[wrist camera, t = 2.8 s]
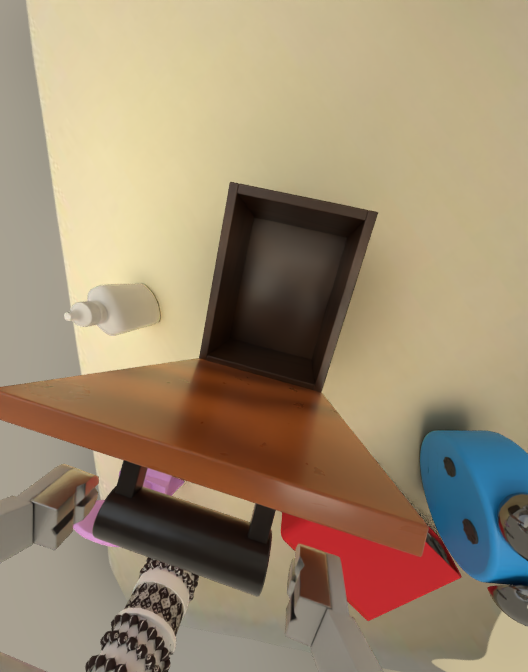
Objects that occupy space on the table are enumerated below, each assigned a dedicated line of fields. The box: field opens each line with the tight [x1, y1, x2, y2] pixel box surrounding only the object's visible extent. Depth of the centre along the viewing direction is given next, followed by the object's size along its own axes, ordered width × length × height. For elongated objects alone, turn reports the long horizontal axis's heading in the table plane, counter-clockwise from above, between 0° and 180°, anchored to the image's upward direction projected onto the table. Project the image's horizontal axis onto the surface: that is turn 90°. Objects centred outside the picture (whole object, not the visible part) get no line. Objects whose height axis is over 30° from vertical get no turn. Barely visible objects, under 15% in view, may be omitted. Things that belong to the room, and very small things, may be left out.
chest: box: [199, 182, 378, 392], centre depth 27 cm, size 17×13×9 cm
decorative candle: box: [85, 557, 199, 672], centre depth 30 cm, size 9×9×25 cm
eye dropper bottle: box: [64, 284, 160, 336], centre depth 28 cm, size 4×6×12 cm
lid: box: [0, 358, 429, 596], centre depth 15 cm, size 17×13×5 cm
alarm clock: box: [420, 430, 528, 626], centre depth 25 cm, size 13×6×15 cm, turn 5°
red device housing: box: [281, 512, 461, 621], centre depth 34 cm, size 18×14×5 cm
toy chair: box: [73, 468, 184, 547], centre depth 32 cm, size 8×9×15 cm
